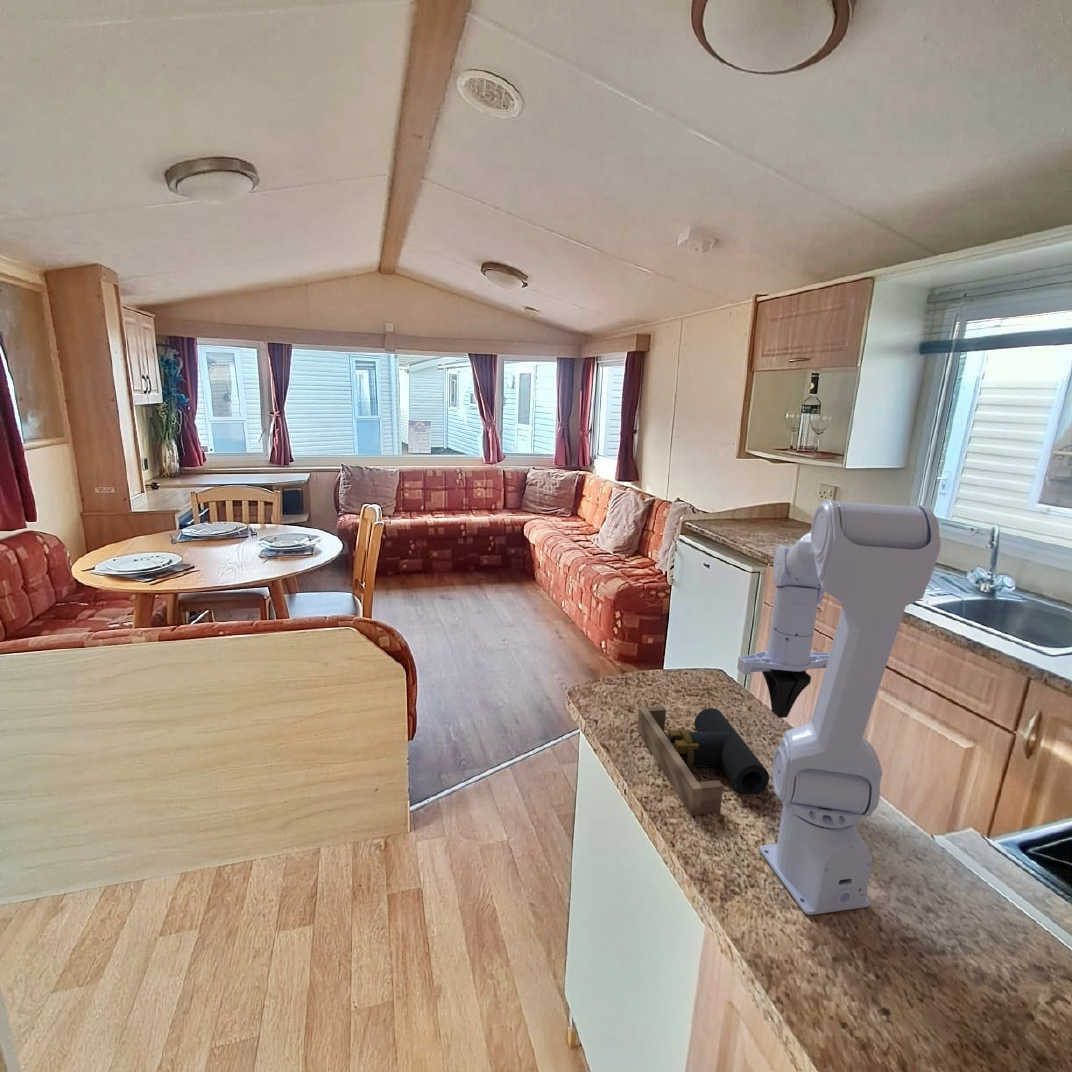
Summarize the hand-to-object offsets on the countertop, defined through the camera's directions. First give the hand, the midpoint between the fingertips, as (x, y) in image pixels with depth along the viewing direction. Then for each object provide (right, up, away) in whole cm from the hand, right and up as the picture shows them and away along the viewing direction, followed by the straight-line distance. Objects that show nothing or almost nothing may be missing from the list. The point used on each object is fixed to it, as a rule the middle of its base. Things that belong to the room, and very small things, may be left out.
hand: (779, 714), depth 86 cm
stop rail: (-16, -8, 0) cm, 18 cm away
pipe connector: (-10, -8, +2) cm, 13 cm away
